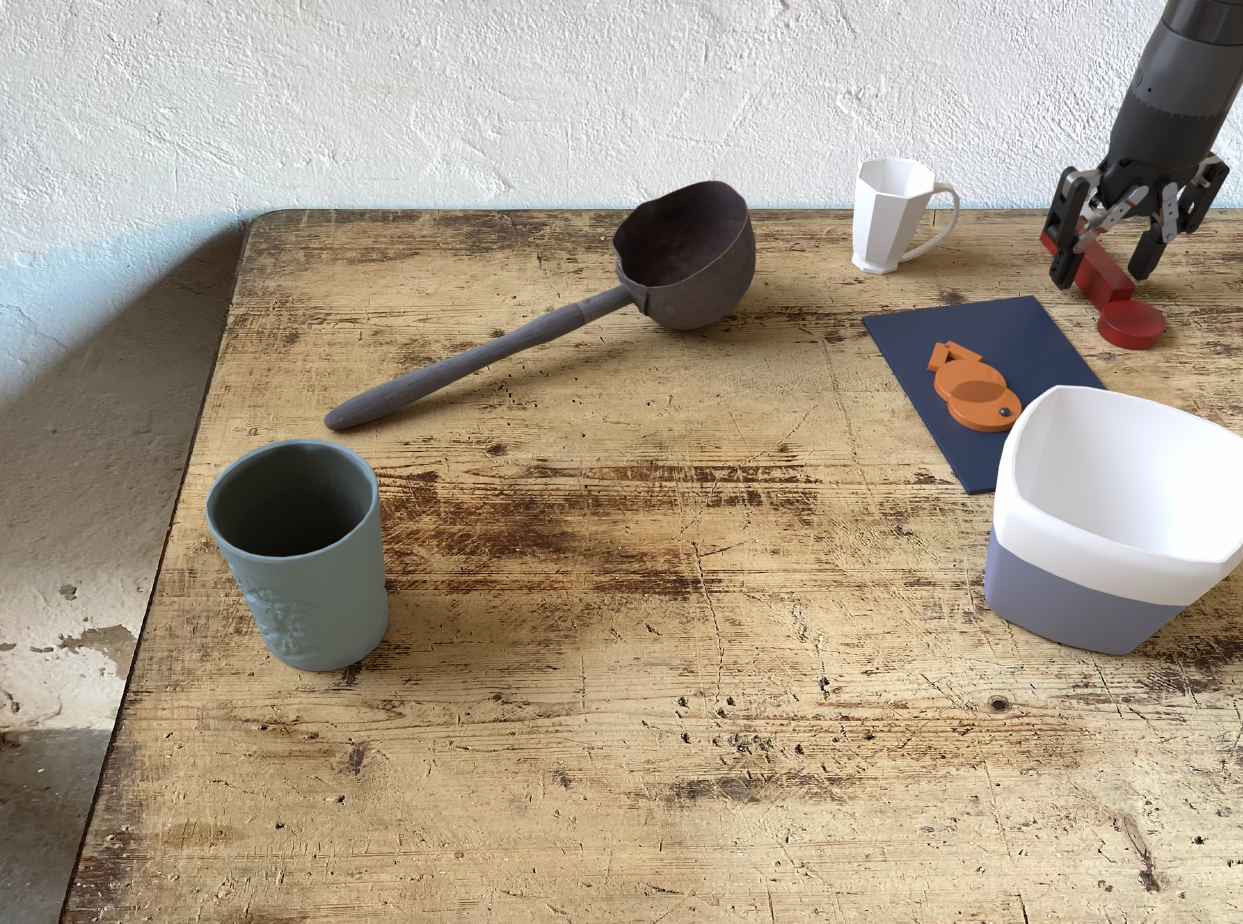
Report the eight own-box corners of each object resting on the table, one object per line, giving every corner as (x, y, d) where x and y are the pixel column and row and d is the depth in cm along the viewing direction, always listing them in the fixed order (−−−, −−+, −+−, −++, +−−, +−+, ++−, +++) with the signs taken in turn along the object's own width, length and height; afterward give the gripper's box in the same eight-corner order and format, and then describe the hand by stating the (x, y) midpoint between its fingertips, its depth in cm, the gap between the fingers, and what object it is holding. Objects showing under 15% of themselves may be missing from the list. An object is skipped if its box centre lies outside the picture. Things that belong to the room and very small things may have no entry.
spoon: (1023, 241, 104) (1033, 215, 102) (1075, 235, 105) (1085, 209, 103) (1115, 353, 94) (1127, 327, 92) (1171, 345, 95) (1185, 319, 93)
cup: (828, 241, 104) (846, 156, 97) (932, 235, 104) (957, 151, 98) (846, 285, 99) (867, 200, 93) (955, 279, 100) (983, 194, 94)
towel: (1031, 298, 99) (1033, 294, 98) (1161, 466, 86) (1164, 462, 85) (860, 320, 96) (861, 316, 96) (967, 495, 84) (969, 491, 83)
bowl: (984, 484, 84) (1035, 362, 75) (1197, 551, 80) (1277, 431, 71) (931, 625, 76) (981, 506, 67) (1165, 707, 72) (1252, 593, 63)
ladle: (790, 304, 94) (776, 198, 86) (402, 547, 90) (350, 460, 82) (712, 247, 101) (693, 145, 93) (350, 471, 97) (297, 384, 89)
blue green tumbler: (394, 561, 79) (372, 429, 69) (407, 674, 73) (384, 546, 63) (248, 579, 78) (205, 447, 68) (249, 694, 72) (202, 568, 62)
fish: (910, 351, 93) (913, 339, 92) (972, 343, 94) (976, 331, 93) (964, 437, 87) (969, 425, 86) (1031, 427, 88) (1036, 416, 87)
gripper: (1122, 120, 82) (1042, 315, 95) (1296, 102, 84) (1194, 295, 97) (1073, 73, 86) (1004, 265, 100) (1239, 57, 88) (1149, 247, 102)
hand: (1098, 279), depth 98 cm, fingers open, 7 cm apart
